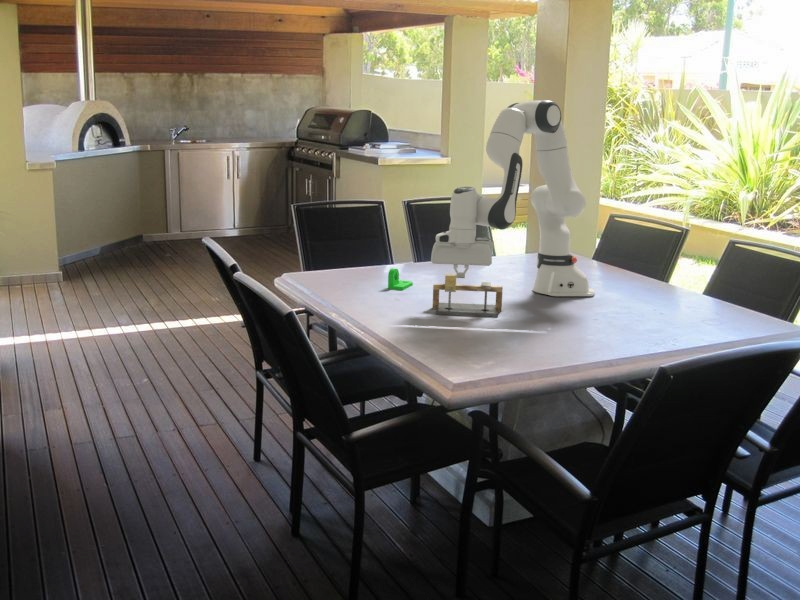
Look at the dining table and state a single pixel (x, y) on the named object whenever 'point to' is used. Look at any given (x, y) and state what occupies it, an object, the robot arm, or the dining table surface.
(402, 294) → the dining table surface
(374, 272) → the dining table surface
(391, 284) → the mechanical part
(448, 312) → the bolt plate
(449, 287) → the slider leg
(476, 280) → the dining table surface
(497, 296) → the wooden frame rack
